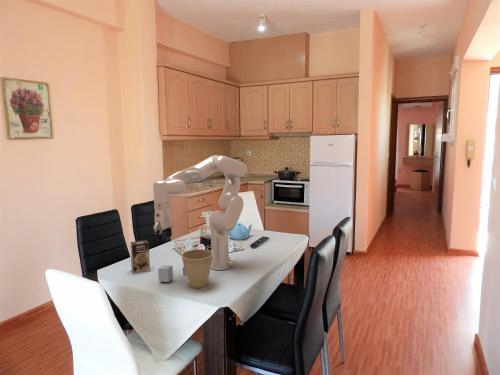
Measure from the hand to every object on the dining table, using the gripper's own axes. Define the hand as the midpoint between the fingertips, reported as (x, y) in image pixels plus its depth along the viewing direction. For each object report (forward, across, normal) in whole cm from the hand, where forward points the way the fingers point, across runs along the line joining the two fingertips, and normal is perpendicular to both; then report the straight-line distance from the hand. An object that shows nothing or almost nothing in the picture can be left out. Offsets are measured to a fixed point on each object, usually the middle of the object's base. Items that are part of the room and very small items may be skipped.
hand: (164, 239), depth 181 cm
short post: (+22, +11, -6) cm, 25 cm away
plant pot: (+22, -1, -18) cm, 29 cm away
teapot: (+23, +84, -14) cm, 88 cm away
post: (+22, 0, 0) cm, 22 cm away
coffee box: (+22, +11, +21) cm, 33 cm away
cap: (+21, 0, 0) cm, 21 cm away
